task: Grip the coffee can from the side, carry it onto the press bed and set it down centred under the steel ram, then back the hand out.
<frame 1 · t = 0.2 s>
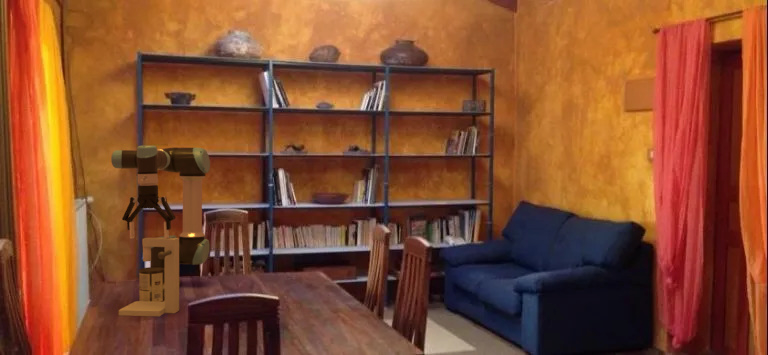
hand: (149, 238, 275), 29 cm above the table, tool pointing down, fingers open, 13 cm apart
coffee can: (152, 302, 292), on the table
press: (147, 311, 277), on the table
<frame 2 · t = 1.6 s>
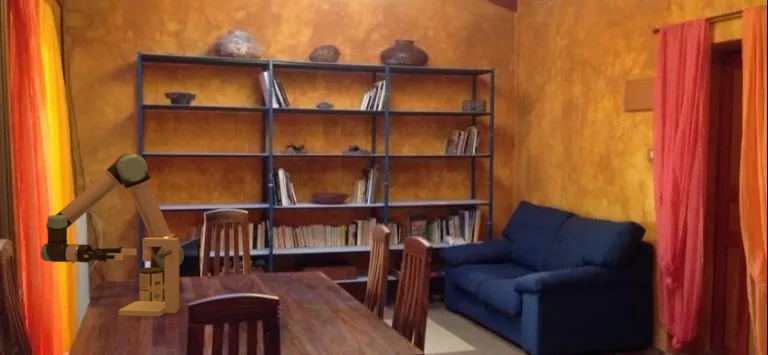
hand: (129, 254, 292), 20 cm above the table, tool horizontal, fingers open, 13 cm apart
nothing on the table moved.
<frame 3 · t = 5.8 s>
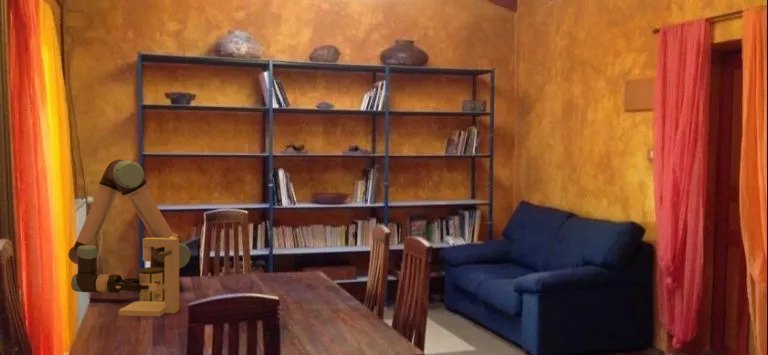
hand: (162, 284, 291), 8 cm above the table, tool horizontal, fingers closed on coffee can, 10 cm apart
coffee can: (152, 302, 292), on the table, touching gripper
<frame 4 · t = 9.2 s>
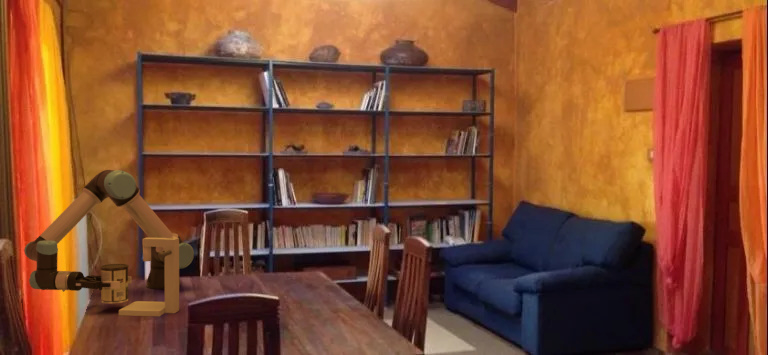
hand: (125, 282, 277), 11 cm above the table, tool horizontal, fingers closed on coffee can, 10 cm apart
coffee can: (114, 301, 277), point 4 cm above the table, touching gripper
when the fingers open (10 cm above the table, at t = 12.4 s): coffee can stays where it is, resting on press.
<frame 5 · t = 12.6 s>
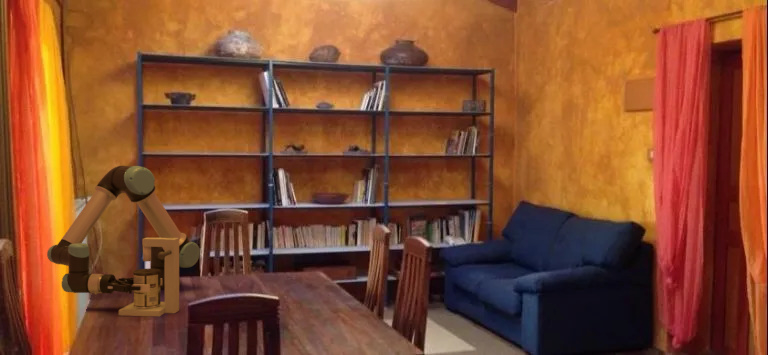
hand: (156, 284, 276), 10 cm above the table, tool horizontal, fingers open, 12 cm apart
coffee can: (146, 306, 277), point 2 cm above the table, touching press
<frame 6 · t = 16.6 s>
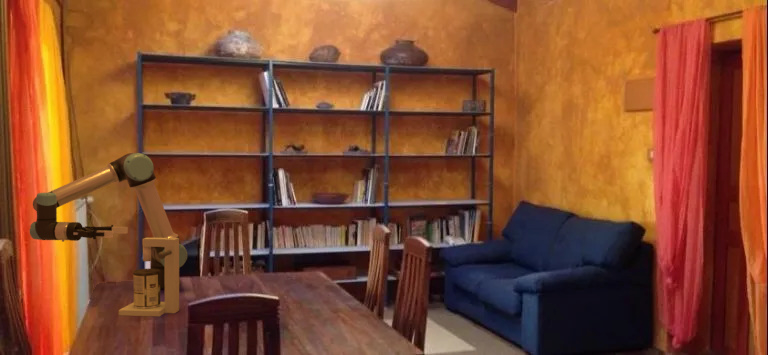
hand: (120, 232, 285), 30 cm above the table, tool horizontal, fingers open, 13 cm apart
nothing on the table moved.
at the end: coffee can inside the target area on the press (0.1 cm from its centre), point 1.8 cm above the press's base; coffee can tilted 0°; the gripper is holding nothing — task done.
